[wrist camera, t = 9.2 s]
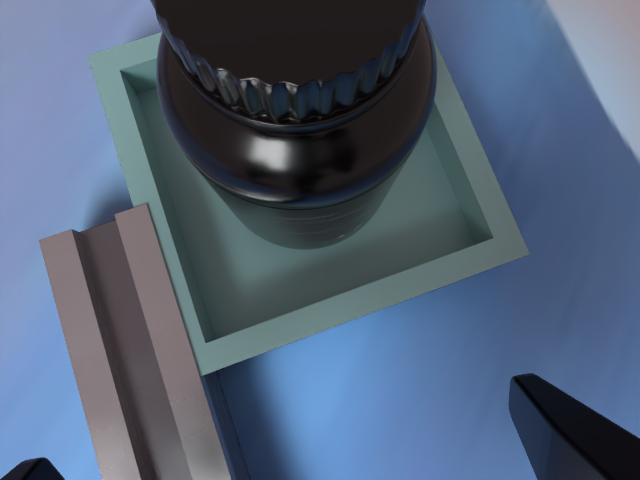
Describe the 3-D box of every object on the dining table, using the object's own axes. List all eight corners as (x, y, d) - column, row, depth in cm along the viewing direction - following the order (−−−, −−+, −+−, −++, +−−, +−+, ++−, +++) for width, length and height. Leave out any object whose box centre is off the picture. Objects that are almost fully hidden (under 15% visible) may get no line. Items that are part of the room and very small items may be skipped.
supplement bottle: (197, 133, 20) (18, -151, 8) (345, 72, 20) (386, -281, 8) (261, 282, 19) (168, 215, 7) (415, 213, 19) (577, 38, 7)
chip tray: (503, 262, 19) (530, 254, 17) (203, 373, 19) (186, 381, 16) (389, -2, 21) (398, -44, 19) (114, 87, 21) (87, 55, 18)
